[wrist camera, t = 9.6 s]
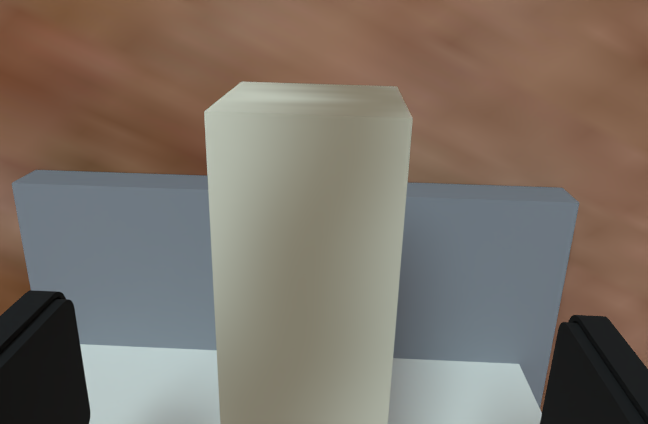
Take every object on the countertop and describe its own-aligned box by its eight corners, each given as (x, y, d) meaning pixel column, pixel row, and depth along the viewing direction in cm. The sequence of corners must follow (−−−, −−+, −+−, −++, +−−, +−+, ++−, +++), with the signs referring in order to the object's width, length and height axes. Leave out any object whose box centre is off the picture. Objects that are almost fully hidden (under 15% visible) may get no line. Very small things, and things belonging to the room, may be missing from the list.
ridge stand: (562, 187, 19) (661, 276, 13) (505, 502, 24) (558, 673, 18) (35, 169, 20) (-106, 246, 14) (86, 480, 25) (-1, 639, 18)
